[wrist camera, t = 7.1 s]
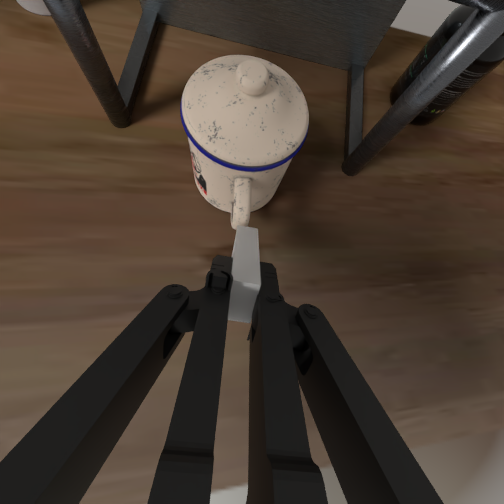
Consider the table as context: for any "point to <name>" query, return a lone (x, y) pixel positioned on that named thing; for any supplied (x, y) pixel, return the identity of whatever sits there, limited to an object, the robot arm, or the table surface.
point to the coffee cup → (34, 6)
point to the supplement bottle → (464, 82)
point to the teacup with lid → (242, 131)
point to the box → (288, 50)
